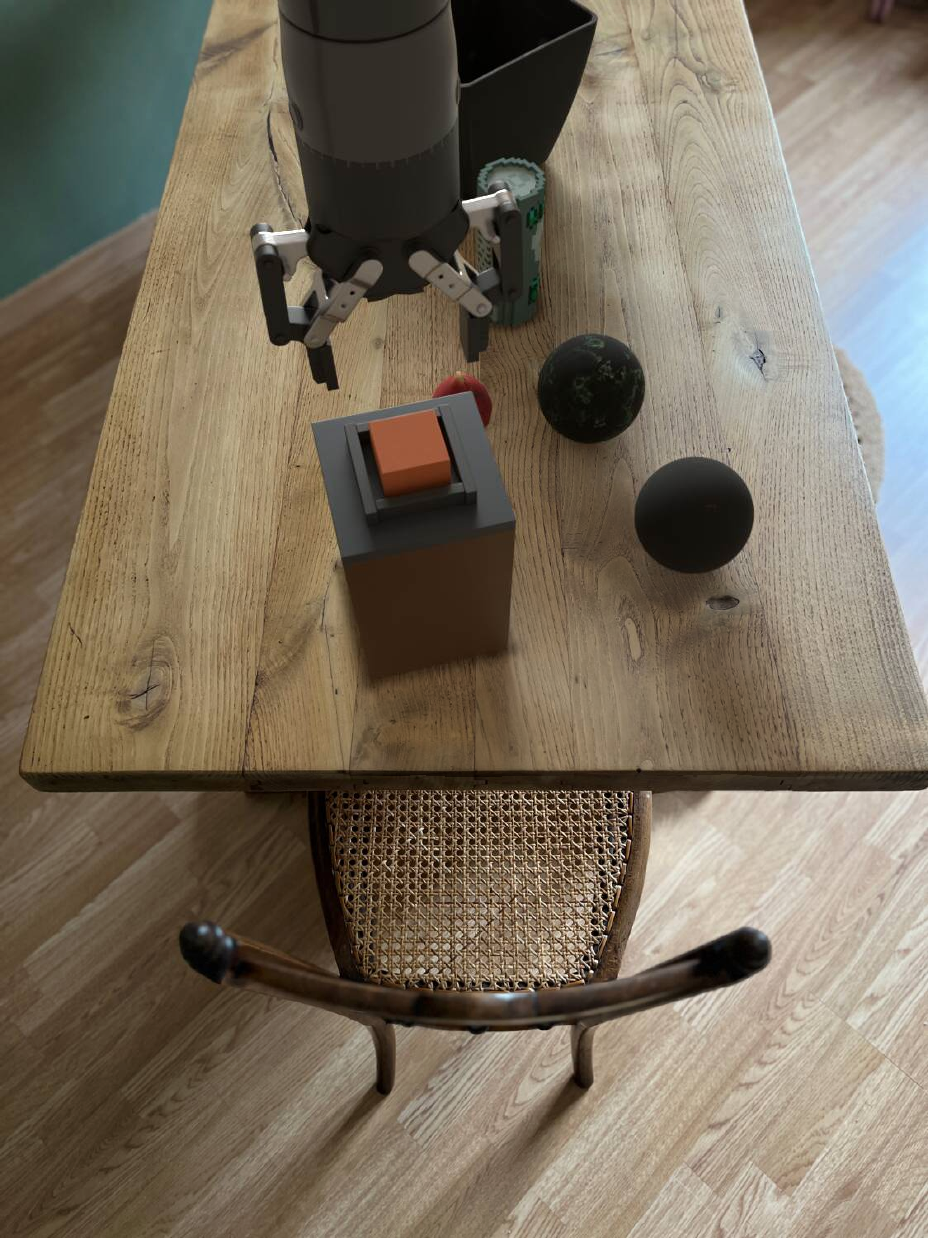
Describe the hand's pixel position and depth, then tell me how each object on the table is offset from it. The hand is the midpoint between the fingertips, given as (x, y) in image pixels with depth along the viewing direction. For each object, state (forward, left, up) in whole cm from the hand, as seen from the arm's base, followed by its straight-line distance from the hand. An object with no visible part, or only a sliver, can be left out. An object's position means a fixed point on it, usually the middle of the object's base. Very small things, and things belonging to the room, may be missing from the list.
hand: (400, 366), depth 55 cm
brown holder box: (0, 0, -29) cm, 29 cm away
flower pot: (+20, +59, -29) cm, 69 cm away
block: (0, 0, -10) cm, 10 cm away
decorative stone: (+20, +16, -29) cm, 39 cm away
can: (+17, +34, -29) cm, 48 cm away
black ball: (+24, 0, -29) cm, 38 cm away
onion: (+8, +18, -29) cm, 35 cm away
